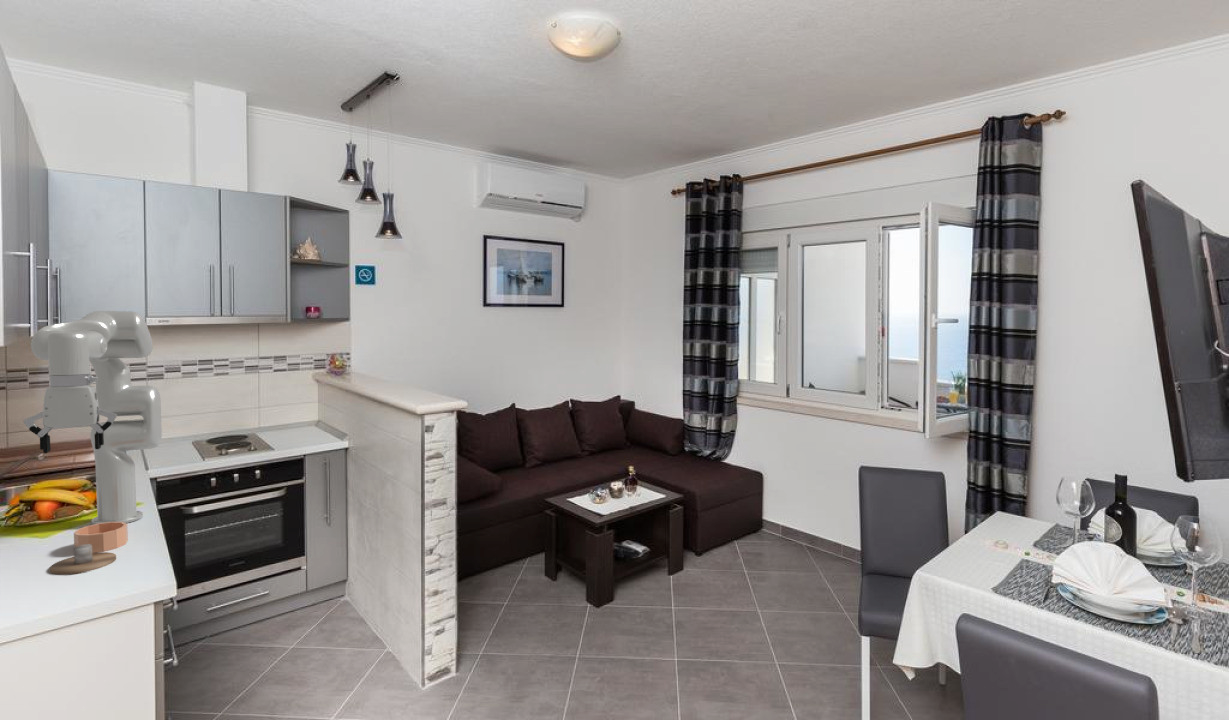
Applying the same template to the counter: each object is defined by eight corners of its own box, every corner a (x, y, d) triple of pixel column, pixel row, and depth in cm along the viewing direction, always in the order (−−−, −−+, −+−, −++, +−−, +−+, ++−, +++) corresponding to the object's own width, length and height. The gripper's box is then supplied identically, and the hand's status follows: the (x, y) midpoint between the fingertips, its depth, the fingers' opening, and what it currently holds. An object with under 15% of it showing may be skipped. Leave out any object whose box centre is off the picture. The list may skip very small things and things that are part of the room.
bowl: (81, 542, 171) (80, 525, 170) (130, 536, 176) (130, 519, 176) (70, 556, 161) (69, 537, 161) (122, 548, 167) (121, 531, 166)
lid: (58, 561, 158) (57, 543, 158) (121, 552, 165) (120, 534, 165) (42, 580, 147) (41, 560, 147) (110, 569, 154) (109, 550, 153)
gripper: (117, 379, 157) (120, 444, 158) (26, 382, 148) (30, 451, 148) (112, 381, 150) (115, 449, 151) (17, 384, 141) (20, 456, 142)
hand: (73, 450), depth 150 cm, fingers open, 9 cm apart
